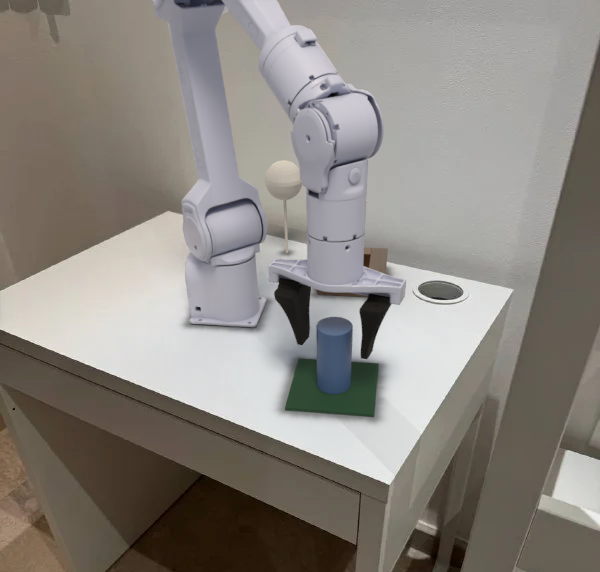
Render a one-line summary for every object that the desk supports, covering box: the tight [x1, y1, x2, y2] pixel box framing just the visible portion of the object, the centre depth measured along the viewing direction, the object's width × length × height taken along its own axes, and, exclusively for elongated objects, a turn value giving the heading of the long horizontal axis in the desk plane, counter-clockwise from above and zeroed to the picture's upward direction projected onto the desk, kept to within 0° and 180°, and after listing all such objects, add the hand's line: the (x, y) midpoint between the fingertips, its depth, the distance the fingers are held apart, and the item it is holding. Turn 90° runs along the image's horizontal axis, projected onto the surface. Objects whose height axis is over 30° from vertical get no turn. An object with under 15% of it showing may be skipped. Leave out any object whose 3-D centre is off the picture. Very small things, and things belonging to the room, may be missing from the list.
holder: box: [317, 246, 389, 298], centre depth 90 cm, size 10×10×4 cm
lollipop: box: [264, 159, 303, 254], centre depth 96 cm, size 6×6×15 cm
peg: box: [315, 316, 354, 394], centre depth 67 cm, size 4×4×8 cm
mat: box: [284, 357, 380, 418], centre depth 70 cm, size 10×10×1 cm
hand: (334, 347), depth 66 cm, fingers open, 7 cm apart
